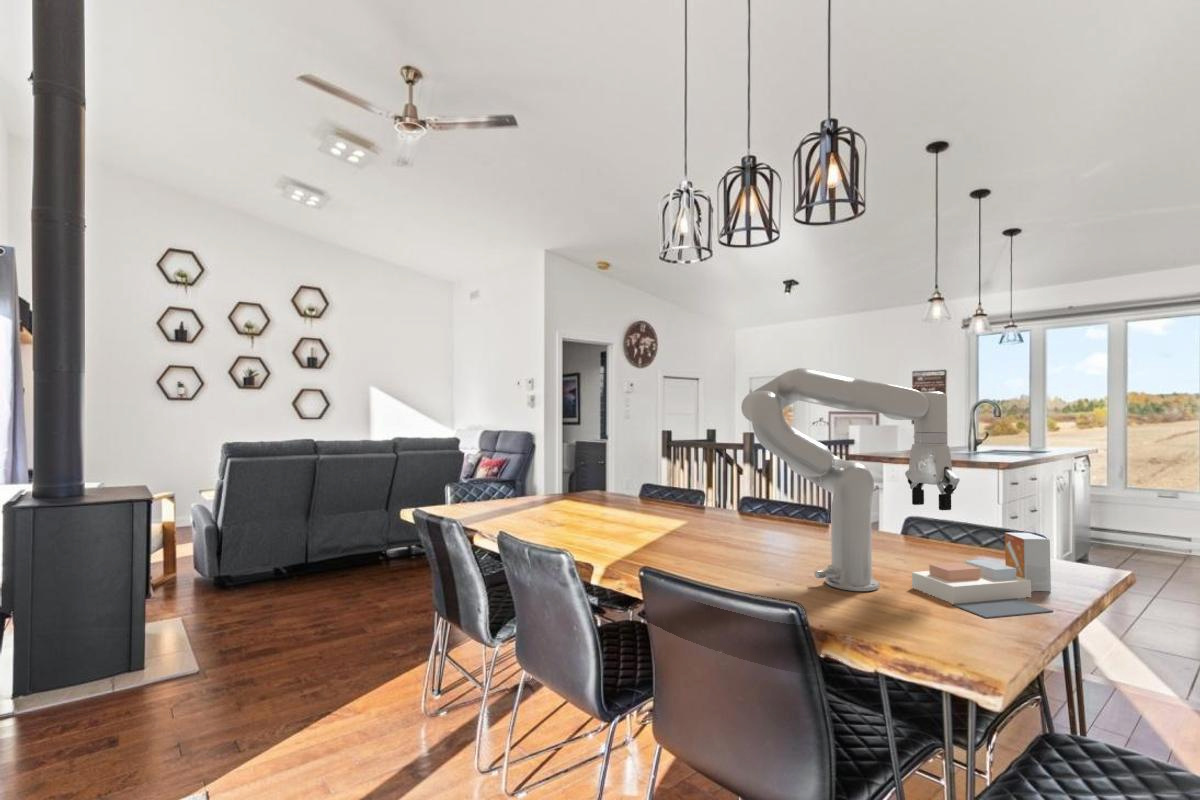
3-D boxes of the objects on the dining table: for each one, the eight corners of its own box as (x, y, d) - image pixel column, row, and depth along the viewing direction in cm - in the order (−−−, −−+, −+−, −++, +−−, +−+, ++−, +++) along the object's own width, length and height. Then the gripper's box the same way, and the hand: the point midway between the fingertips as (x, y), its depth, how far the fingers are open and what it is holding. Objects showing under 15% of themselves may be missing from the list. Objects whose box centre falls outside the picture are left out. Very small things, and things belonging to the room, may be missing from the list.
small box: (1005, 582, 153) (1004, 532, 154) (1030, 582, 153) (1029, 532, 153) (1024, 591, 145) (1023, 538, 146) (1051, 592, 145) (1050, 539, 145)
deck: (954, 604, 136) (953, 586, 136) (912, 588, 148) (911, 572, 149) (1031, 597, 141) (1030, 580, 141) (984, 582, 153) (984, 566, 154)
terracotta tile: (948, 581, 140) (948, 570, 140) (929, 574, 146) (929, 564, 146) (980, 578, 142) (980, 568, 142) (959, 572, 148) (959, 562, 148)
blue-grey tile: (1016, 578, 142) (1016, 568, 142) (995, 580, 141) (995, 569, 141) (984, 569, 151) (984, 559, 151) (964, 570, 150) (964, 560, 150)
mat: (985, 618, 126) (985, 617, 126) (952, 605, 135) (952, 603, 135) (1053, 611, 130) (1053, 610, 130) (1016, 599, 139) (1016, 598, 139)
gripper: (894, 438, 160) (894, 502, 159) (945, 441, 143) (945, 513, 142) (917, 438, 161) (918, 501, 161) (971, 440, 144) (971, 512, 144)
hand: (931, 507), depth 152 cm, fingers open, 8 cm apart
